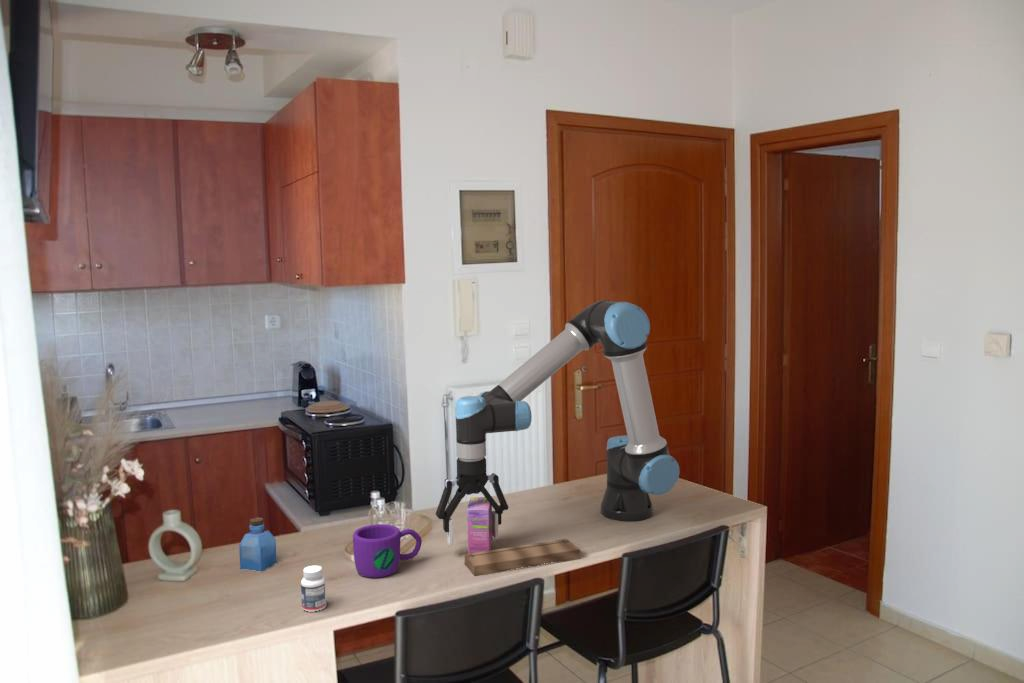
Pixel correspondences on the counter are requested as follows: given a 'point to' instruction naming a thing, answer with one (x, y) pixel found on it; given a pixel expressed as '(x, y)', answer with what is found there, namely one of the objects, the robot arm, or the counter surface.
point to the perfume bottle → (257, 547)
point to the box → (479, 525)
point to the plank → (521, 556)
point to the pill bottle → (313, 589)
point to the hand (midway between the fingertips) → (472, 540)
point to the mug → (380, 549)
